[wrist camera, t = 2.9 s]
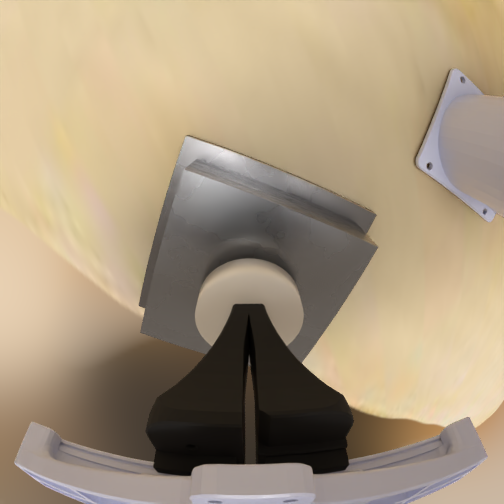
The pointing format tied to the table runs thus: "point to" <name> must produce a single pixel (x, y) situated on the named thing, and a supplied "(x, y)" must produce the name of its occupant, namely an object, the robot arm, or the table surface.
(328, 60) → the table surface
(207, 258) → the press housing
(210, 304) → the plunger
